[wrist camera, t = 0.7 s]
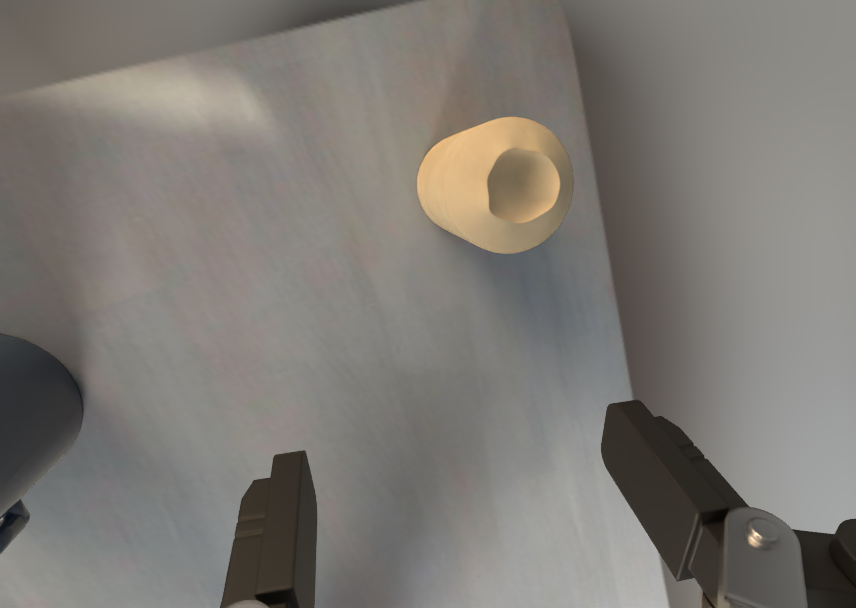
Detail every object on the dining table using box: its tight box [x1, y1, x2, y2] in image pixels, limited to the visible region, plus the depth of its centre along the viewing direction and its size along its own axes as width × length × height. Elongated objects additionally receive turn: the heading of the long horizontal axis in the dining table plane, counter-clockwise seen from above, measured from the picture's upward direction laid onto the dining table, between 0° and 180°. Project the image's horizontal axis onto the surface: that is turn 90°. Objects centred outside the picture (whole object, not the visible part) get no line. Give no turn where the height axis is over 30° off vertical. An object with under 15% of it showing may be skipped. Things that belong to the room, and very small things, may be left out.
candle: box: [417, 117, 574, 254], centre depth 24 cm, size 6×6×10 cm
